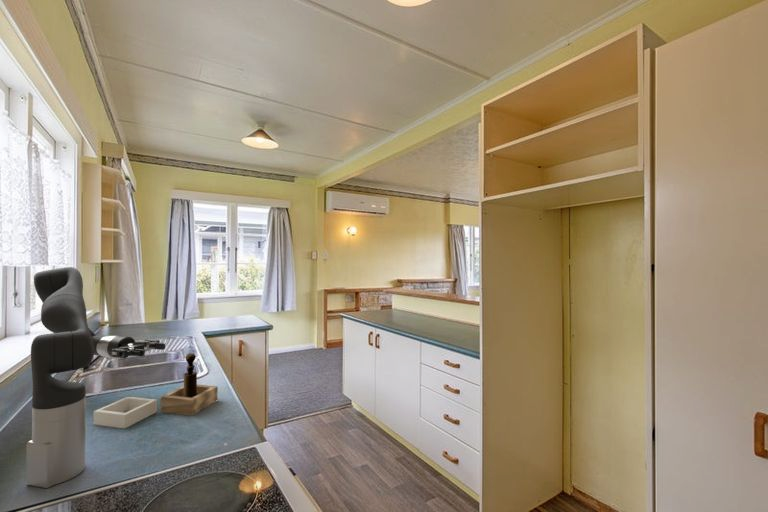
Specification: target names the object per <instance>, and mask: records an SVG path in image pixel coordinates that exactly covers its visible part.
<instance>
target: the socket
mask: <svg viewBox="0 0 768 512" xmlns="http://www.w3.org/2000/svg"><path fill="white" fill-rule="evenodd" d="M218 388H219V387H218V385H217V386H216V385H207V384H197V395H196V396H194V397H193V398H190V397H184V385H183V386H180V387H179V388H177V389H173V390H171V391H170V392H168V393H166V394H163V395H162V396H161V397H160V412H161V413H168V414H175V413H176V414H177V415H185V416H194V415H196V414H198V413H199V412H201V411H202V410H201V409H203V408H204V409H206V408H207V407H206V406H208V405H209V406H211V405H212V404H211V403H213V402H214V403H216V402H217V401H216V400H219V399H218V395H219V393H218ZM215 401H216V402H215ZM214 403H213V404H214ZM210 404H211V405H210ZM209 406H208V407H209ZM205 407H206V408H205ZM204 409H203V410H204ZM200 410H201V411H200ZM198 411H199V412H198ZM197 412H198V413H197ZM195 413H196V414H195Z"/></svg>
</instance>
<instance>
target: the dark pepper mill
mask: <svg viewBox="0 0 768 512" xmlns="http://www.w3.org/2000/svg"><path fill="white" fill-rule="evenodd" d="M195 360H196V354H195V353H193V352H190V353H187V354H186V355H185V361H186V362H187V366H186V372H185V373H184V374H183V386H184V397H190V398H193V397H194V396H196V395H197V385H198V382H197V380H198V379H197V378H198V373H197V371H194V370H195V366H194V361H195Z"/></svg>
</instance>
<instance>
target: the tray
mask: <svg viewBox="0 0 768 512" xmlns="http://www.w3.org/2000/svg"><path fill="white" fill-rule="evenodd" d="M157 412H158V399H155V398H154V399H152V398H144V397H135V396H126V397H124V398H122V399H118V400H116V401H114V402H112V403H109V404H108V405H105V406H103V407H100V408H98V409H96V410H93V425H95V426H103V427H109V428H117V429H118V428H119V429H126V428H129V427H130V426H133V425H134V424H136V423H139V422H140V421H141V420H144V419H146V418H147V417H150V416H151V415H154V414H156V413H157Z"/></svg>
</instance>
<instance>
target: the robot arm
mask: <svg viewBox="0 0 768 512" xmlns="http://www.w3.org/2000/svg"><path fill="white" fill-rule="evenodd" d="M83 283H84V282H83V277H82V275H81V273H80V271H79V270H78V269H77V268H76V267H73V266H66V267H65V266H64V267H59V268H53V269H46V270H42V271H38V272H36V273H35V274H34V275H33V286H34V288H35V291H36V294H37V296H38V297H39V299H40V301H41V302H42V305H41V309H40V310H41V311H40V321H41V324H42V325H43V326H44V328H45V329H47V330H48V331H50V333H43V334H38V335H37V336H35V337H34V338H33V341H32V342H31V346H30V363H31V364H30V365H31V376H32V377H31V379H32V398H31V399H32V401H31V440H29V441H27V442H26V482H25V483H26V485H28V486H34V487H39V488H42V489H43V488H45V489H48V488H50V487H53V486H54V485H58V484H61V483H63V482H67V481H68V480H69V481H70V480H71V479H73V478H75V477H76V476H78V475H80V474H81V473H82V472H83V471H84V470H85V468H86V393H87V391H86V386H85V384H83V383H81V382H77V381H68V380H67V381H66V380H62V379H61V380H60V379H57V378H55V377H53V376H52V375H53V374H59V373H66V372H71V371H77V370H81V369H84V368H86V367H88V366H89V365H90V364H92V361H93V359H94V356H101V357H102V356H103V357H107V358H115V359H128V358H129V357H131V358H132V357H141V358H142V357H145V354H146V352H149V351H151V350H161V351H163V350H165V349H166V344H165V343H164V342H161V341H160V340H159V339H158V340H157V339H144V340H143V341H142V340H141V341H140V340H137V341H136V340H135V339H134V338H133V337H132V336H126V335H125V336H122V335H101V334H100V335H98V334H95V332H94V331H92V330H91V328H90V327H89V324H88V320H87V308H86V301H85V299H84V293H83V292H84V284H83Z"/></svg>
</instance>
